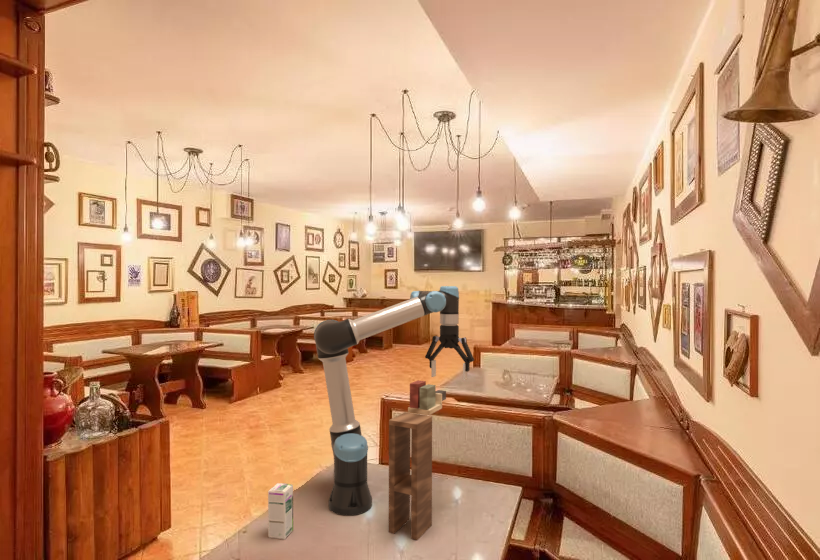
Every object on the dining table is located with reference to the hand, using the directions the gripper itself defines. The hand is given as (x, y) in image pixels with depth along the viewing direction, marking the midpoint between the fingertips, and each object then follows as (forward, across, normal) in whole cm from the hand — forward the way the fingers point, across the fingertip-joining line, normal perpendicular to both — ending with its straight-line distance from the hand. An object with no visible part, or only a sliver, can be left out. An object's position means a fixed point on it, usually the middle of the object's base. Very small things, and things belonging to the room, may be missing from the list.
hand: (449, 378), depth 187 cm
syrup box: (+41, +30, +62) cm, 80 cm away
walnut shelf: (+41, -4, +40) cm, 57 cm away
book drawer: (+6, -4, +25) cm, 26 cm away
